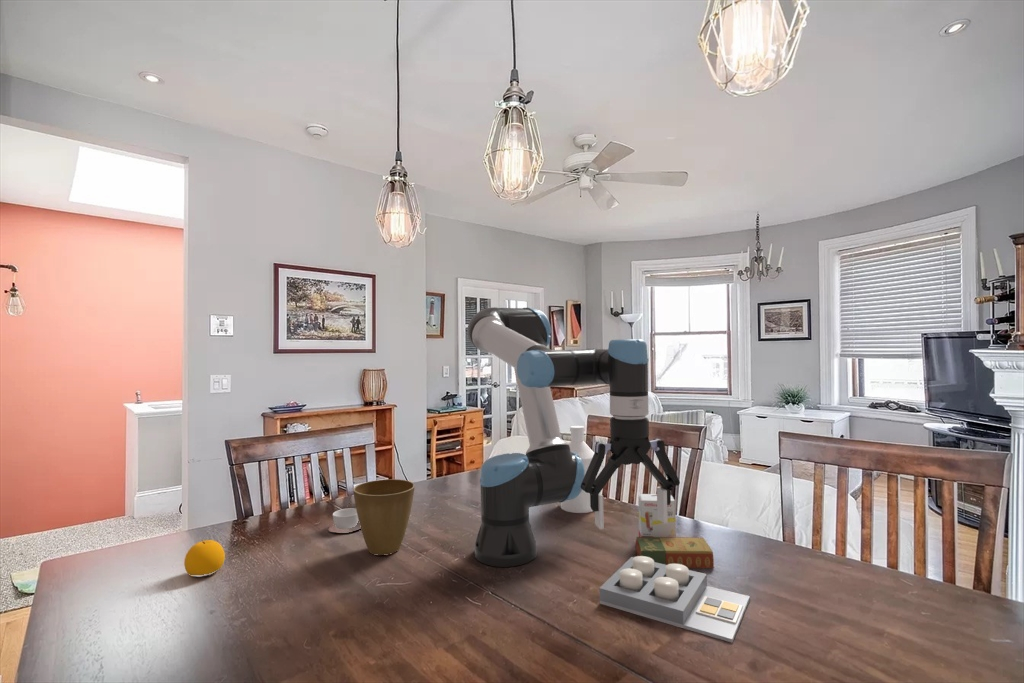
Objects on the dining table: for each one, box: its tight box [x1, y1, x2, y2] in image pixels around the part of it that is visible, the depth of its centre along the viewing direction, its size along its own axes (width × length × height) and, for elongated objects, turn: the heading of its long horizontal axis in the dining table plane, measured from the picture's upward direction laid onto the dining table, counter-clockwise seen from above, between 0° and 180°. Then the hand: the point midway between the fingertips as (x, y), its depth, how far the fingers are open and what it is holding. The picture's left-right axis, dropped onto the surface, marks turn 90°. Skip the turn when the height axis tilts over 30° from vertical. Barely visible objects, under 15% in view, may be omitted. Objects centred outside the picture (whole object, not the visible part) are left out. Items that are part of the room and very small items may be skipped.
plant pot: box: [352, 478, 415, 555], centre depth 125 cm, size 15×15×16 cm
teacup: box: [332, 507, 359, 529], centre depth 141 cm, size 10×10×5 cm
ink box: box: [637, 493, 677, 537], centre depth 125 cm, size 9×5×12 cm, turn 83°
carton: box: [635, 536, 715, 569], centre depth 116 cm, size 8×16×4 cm, turn 84°
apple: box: [184, 539, 226, 576], centre depth 113 cm, size 8×8×8 cm
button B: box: [632, 556, 654, 578], centre depth 104 cm, size 4×4×3 cm
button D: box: [666, 564, 690, 586], centre depth 100 cm, size 4×4×3 cm
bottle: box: [560, 425, 598, 514], centre depth 156 cm, size 12×12×25 cm
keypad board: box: [599, 556, 751, 643], centre depth 97 cm, size 24×17×3 cm
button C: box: [654, 577, 679, 602], centre depth 95 cm, size 4×4×3 cm
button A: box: [619, 568, 643, 592], centre depth 99 cm, size 4×4×3 cm
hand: (631, 524), depth 99 cm, fingers open, 13 cm apart
